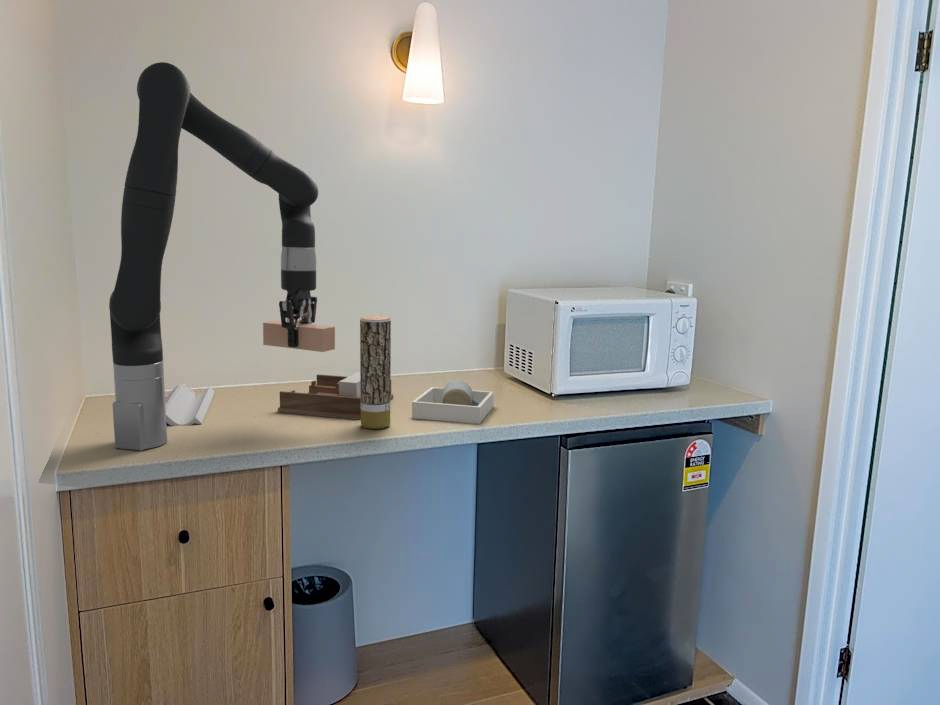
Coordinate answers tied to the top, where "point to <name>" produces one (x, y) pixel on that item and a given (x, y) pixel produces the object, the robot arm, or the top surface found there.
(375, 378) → the bark log cylinder
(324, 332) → the clay bar
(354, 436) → the top surface
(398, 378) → the top surface
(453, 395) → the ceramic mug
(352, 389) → the grey bar
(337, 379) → the rack
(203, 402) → the crown molding
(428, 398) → the frame
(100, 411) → the top surface
